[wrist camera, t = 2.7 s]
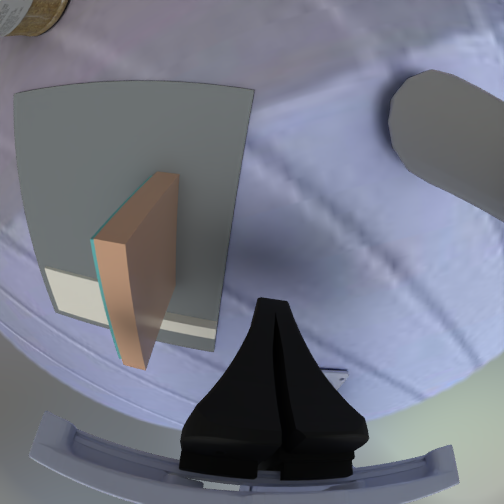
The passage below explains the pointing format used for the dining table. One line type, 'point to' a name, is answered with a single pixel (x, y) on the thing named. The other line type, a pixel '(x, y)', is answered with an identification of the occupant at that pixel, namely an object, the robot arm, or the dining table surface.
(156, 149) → the mat
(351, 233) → the dining table surface
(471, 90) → the salt shaker
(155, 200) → the tile
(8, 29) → the sprinkles bottle
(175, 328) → the turner
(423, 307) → the dining table surface
